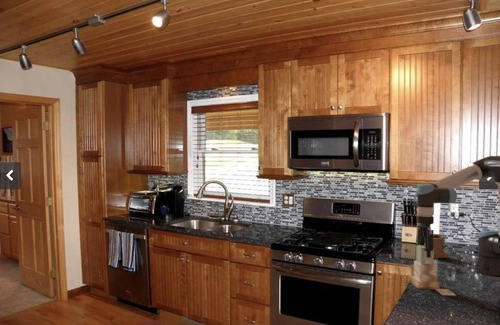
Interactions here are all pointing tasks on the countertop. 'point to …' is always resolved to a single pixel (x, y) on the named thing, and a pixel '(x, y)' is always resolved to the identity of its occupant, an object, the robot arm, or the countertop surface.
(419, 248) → the sage brick
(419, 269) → the birch brick
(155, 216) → the countertop surface
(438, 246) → the brown rounded piece
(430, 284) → the base
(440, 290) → the page
